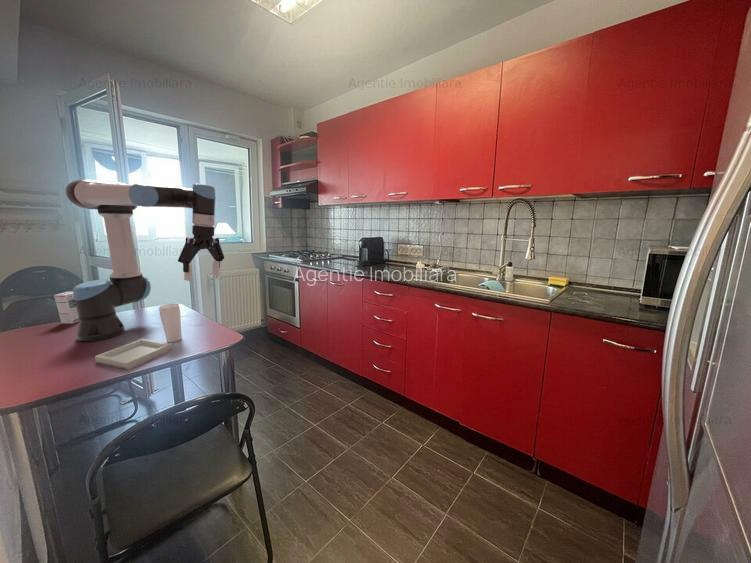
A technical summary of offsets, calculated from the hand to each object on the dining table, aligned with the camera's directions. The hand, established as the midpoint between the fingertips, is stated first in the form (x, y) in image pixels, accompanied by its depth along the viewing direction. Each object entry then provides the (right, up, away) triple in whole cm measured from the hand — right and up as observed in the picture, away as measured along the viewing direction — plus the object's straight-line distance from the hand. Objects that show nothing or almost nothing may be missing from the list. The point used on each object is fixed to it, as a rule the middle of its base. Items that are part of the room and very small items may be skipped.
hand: (202, 278), depth 120 cm
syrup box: (-77, -21, +24) cm, 83 cm away
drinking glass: (-13, -26, +3) cm, 29 cm away
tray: (-18, -29, -11) cm, 36 cm away
